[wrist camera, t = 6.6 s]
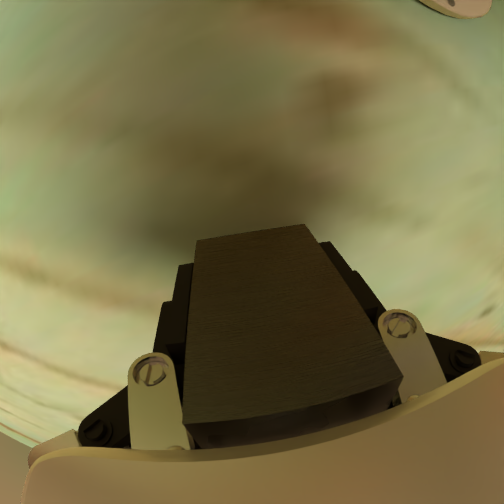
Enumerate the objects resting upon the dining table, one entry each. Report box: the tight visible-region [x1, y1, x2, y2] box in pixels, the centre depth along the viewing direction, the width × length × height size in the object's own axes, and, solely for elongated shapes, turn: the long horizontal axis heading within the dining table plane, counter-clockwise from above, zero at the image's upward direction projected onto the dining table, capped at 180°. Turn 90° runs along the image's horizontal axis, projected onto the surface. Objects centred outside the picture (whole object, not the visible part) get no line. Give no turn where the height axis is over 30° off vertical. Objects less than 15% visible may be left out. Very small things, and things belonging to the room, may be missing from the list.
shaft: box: [182, 224, 404, 449], centre depth 13 cm, size 24×4×7 cm, turn 7°
